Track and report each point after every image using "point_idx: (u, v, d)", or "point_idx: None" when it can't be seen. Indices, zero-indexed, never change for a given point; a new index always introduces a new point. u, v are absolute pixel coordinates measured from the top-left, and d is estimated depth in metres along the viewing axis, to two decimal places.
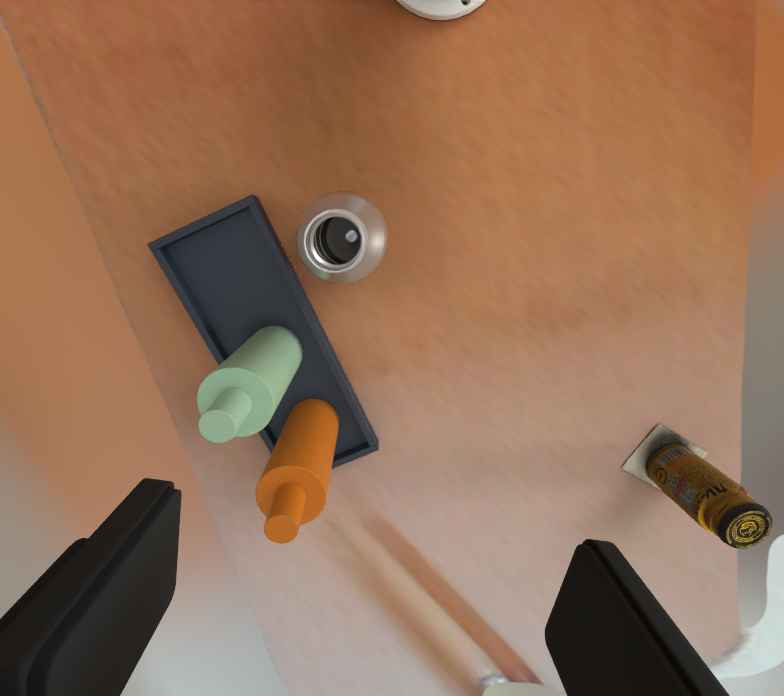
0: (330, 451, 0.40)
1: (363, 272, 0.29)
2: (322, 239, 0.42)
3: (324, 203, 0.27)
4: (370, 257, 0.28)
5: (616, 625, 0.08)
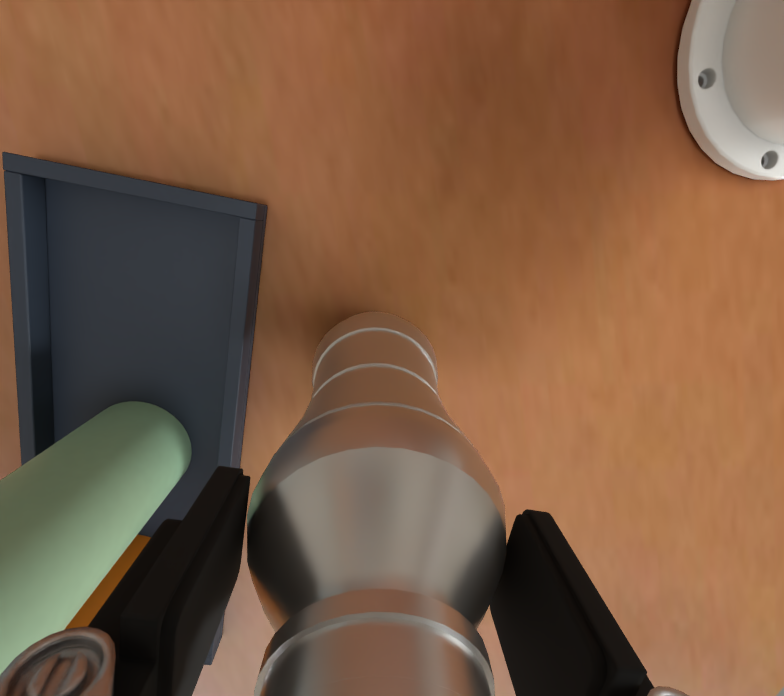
0: None
1: None
2: None
3: (402, 485, 0.08)
4: None
5: (541, 584, 0.08)
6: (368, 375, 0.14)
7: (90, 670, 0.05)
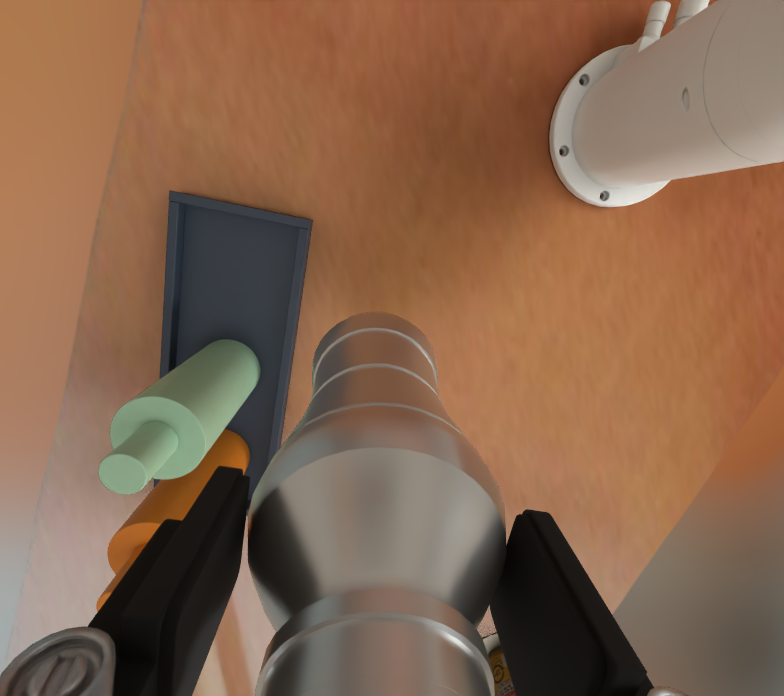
0: None
1: None
2: None
3: (402, 485, 0.08)
4: None
5: (541, 584, 0.08)
6: (368, 375, 0.14)
7: (90, 670, 0.05)
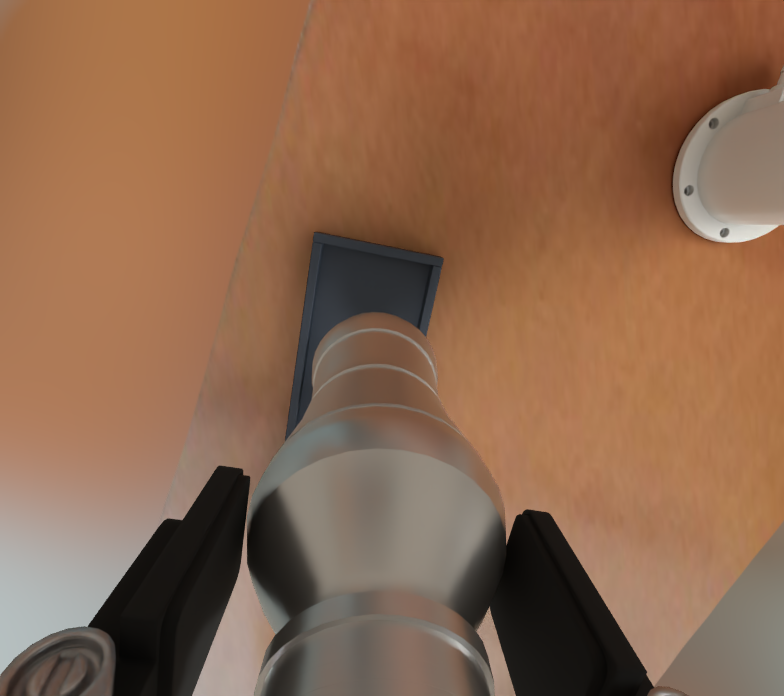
0: None
1: None
2: None
3: (402, 487, 0.08)
4: None
5: (540, 584, 0.09)
6: (368, 376, 0.14)
7: (90, 670, 0.05)
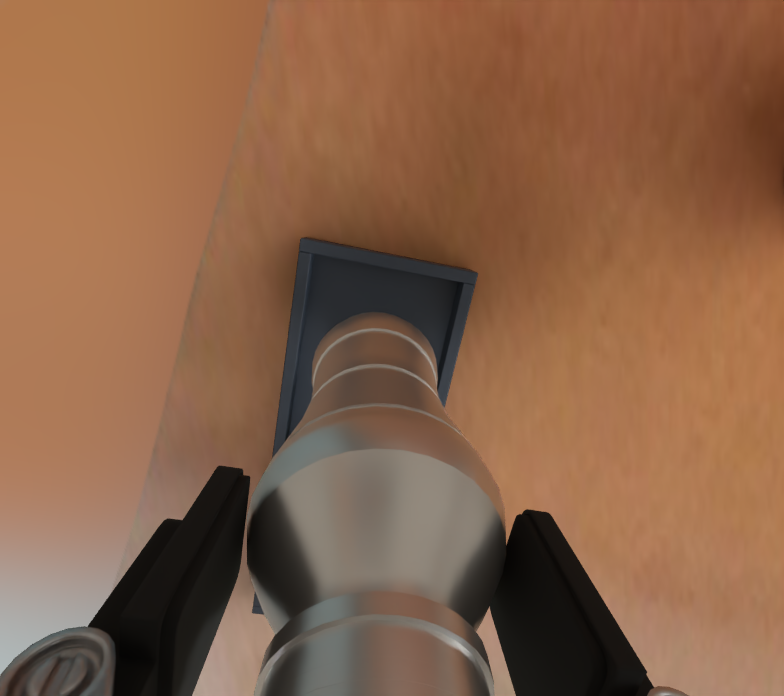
0: None
1: None
2: None
3: (401, 487, 0.08)
4: None
5: (541, 584, 0.09)
6: (368, 376, 0.14)
7: (90, 670, 0.05)
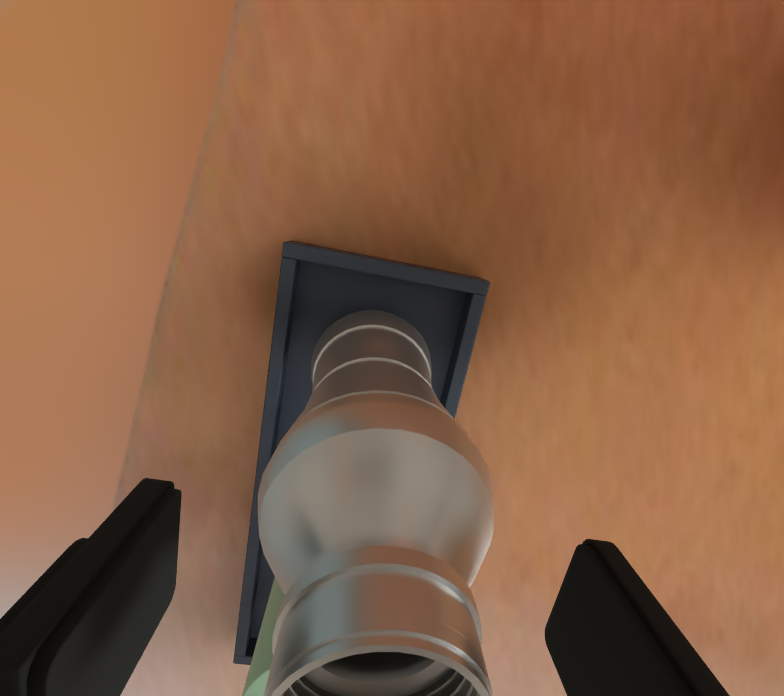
0: None
1: None
2: None
3: (399, 461, 0.09)
4: None
5: (616, 625, 0.08)
6: (366, 368, 0.15)
7: None
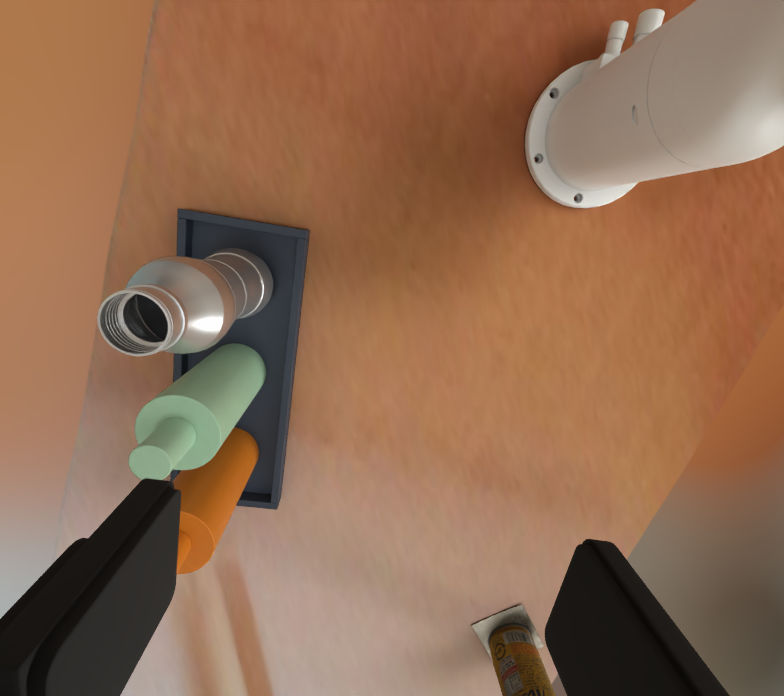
0: (235, 503, 0.38)
1: (178, 351, 0.26)
2: None
3: (170, 269, 0.24)
4: (188, 344, 0.25)
5: (616, 625, 0.08)
6: None
7: None
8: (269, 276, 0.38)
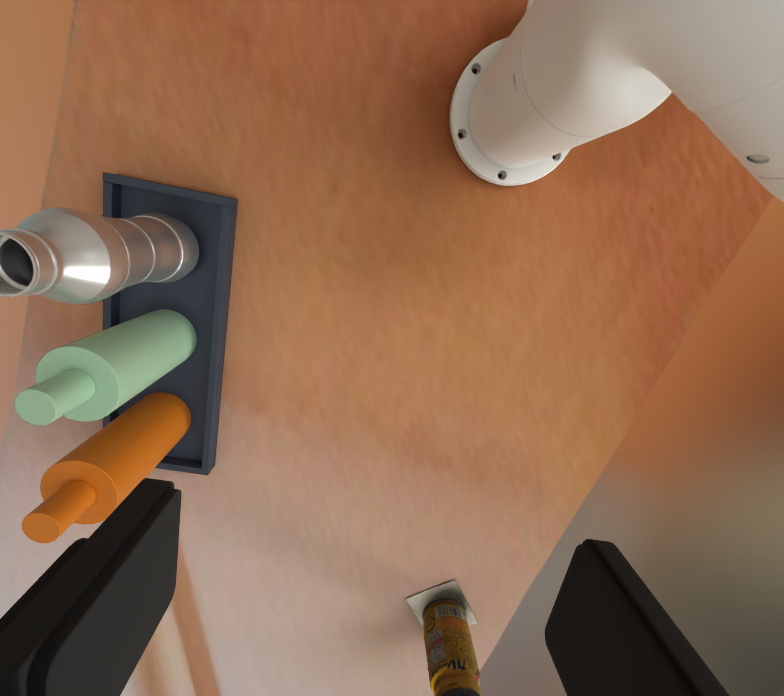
0: (153, 462, 0.39)
1: (66, 300, 0.27)
2: None
3: (52, 218, 0.25)
4: (72, 293, 0.26)
5: (616, 625, 0.08)
6: None
7: None
8: (192, 242, 0.38)
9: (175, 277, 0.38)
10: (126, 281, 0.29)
